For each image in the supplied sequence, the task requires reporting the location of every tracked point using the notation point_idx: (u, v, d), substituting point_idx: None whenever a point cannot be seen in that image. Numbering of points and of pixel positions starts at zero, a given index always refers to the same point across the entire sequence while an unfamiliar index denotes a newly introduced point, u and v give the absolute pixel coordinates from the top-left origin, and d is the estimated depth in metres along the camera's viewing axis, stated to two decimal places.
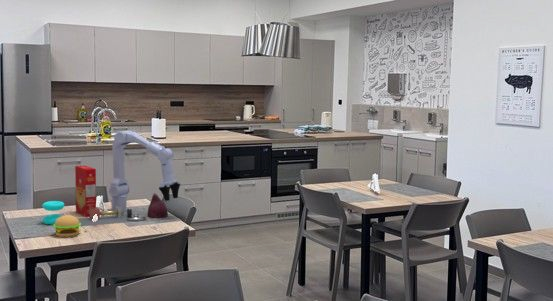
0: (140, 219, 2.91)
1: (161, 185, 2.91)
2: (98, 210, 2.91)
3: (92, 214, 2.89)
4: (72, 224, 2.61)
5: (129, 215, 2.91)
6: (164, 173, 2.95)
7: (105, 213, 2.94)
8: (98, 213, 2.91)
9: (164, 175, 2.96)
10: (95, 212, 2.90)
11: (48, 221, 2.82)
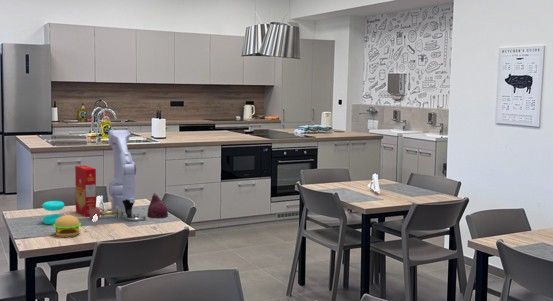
0: (140, 219, 2.91)
1: None
2: (98, 210, 2.91)
3: (92, 214, 2.89)
4: (72, 224, 2.61)
5: (129, 215, 2.91)
6: None
7: (105, 213, 2.94)
8: (98, 213, 2.91)
9: None
10: (95, 212, 2.90)
11: (48, 221, 2.82)
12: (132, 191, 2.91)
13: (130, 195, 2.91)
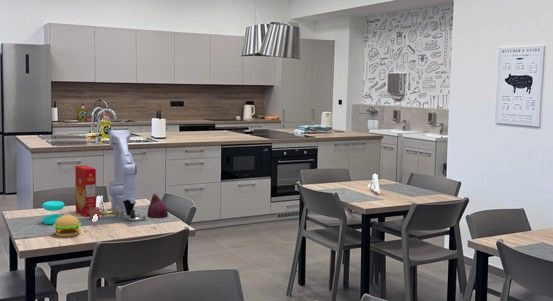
0: (144, 218, 2.94)
1: None
2: (98, 210, 2.91)
3: (92, 214, 2.89)
4: (72, 224, 2.61)
5: (134, 216, 2.90)
6: None
7: (105, 213, 2.94)
8: (98, 213, 2.91)
9: None
10: (95, 212, 2.90)
11: (48, 221, 2.82)
12: (133, 191, 2.90)
13: (131, 195, 2.89)
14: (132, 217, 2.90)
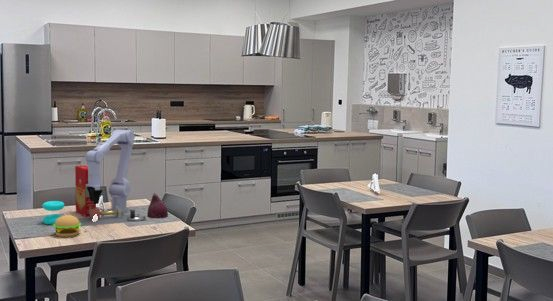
0: (144, 218, 2.94)
1: None
2: (98, 210, 2.91)
3: (92, 214, 2.89)
4: (72, 224, 2.61)
5: (134, 216, 2.90)
6: None
7: (105, 213, 2.94)
8: (98, 213, 2.91)
9: None
10: (95, 212, 2.90)
11: (48, 221, 2.82)
12: (98, 179, 2.89)
13: (96, 183, 2.88)
14: (132, 217, 2.90)
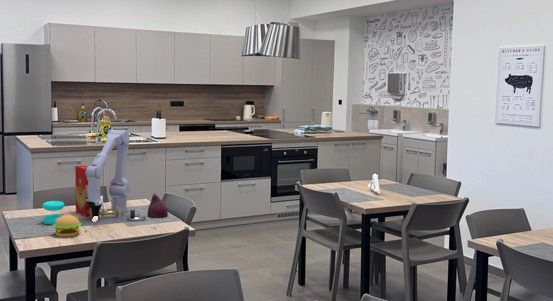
0: (144, 218, 2.94)
1: None
2: None
3: None
4: (72, 224, 2.61)
5: (134, 216, 2.90)
6: None
7: (105, 213, 2.94)
8: None
9: None
10: None
11: (48, 221, 2.82)
12: (98, 193, 2.89)
13: (96, 197, 2.89)
14: (132, 217, 2.90)
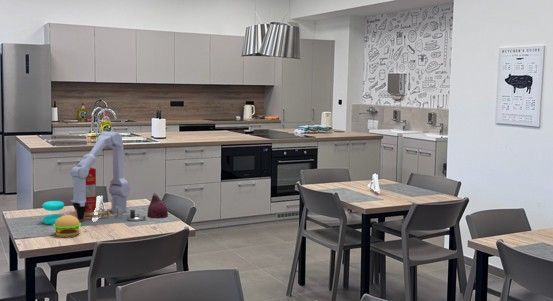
0: (144, 218, 2.94)
1: None
2: None
3: (77, 215, 2.86)
4: (72, 224, 2.61)
5: (134, 216, 2.90)
6: None
7: (91, 214, 2.90)
8: None
9: None
10: None
11: (48, 221, 2.82)
12: (83, 194, 2.86)
13: (81, 198, 2.85)
14: (132, 217, 2.90)
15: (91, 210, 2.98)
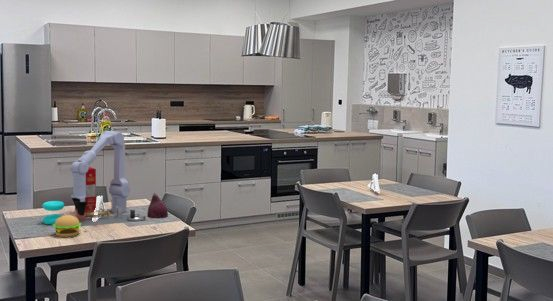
0: (144, 218, 2.94)
1: None
2: None
3: (77, 215, 2.86)
4: (72, 224, 2.61)
5: (134, 216, 2.90)
6: None
7: (91, 214, 2.90)
8: None
9: None
10: None
11: (48, 221, 2.82)
12: (83, 190, 2.86)
13: (81, 194, 2.85)
14: (132, 217, 2.90)
15: (91, 210, 2.98)
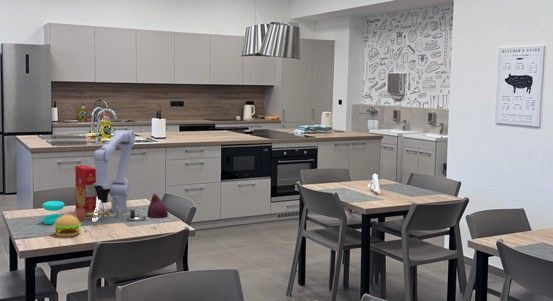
0: (144, 218, 2.94)
1: None
2: (83, 211, 2.87)
3: (77, 215, 2.86)
4: (72, 224, 2.61)
5: (134, 216, 2.90)
6: None
7: (91, 214, 2.90)
8: (83, 214, 2.87)
9: None
10: (80, 213, 2.87)
11: (48, 221, 2.82)
12: (105, 177, 2.89)
13: (103, 181, 2.89)
14: (132, 217, 2.90)
15: (91, 210, 2.98)
